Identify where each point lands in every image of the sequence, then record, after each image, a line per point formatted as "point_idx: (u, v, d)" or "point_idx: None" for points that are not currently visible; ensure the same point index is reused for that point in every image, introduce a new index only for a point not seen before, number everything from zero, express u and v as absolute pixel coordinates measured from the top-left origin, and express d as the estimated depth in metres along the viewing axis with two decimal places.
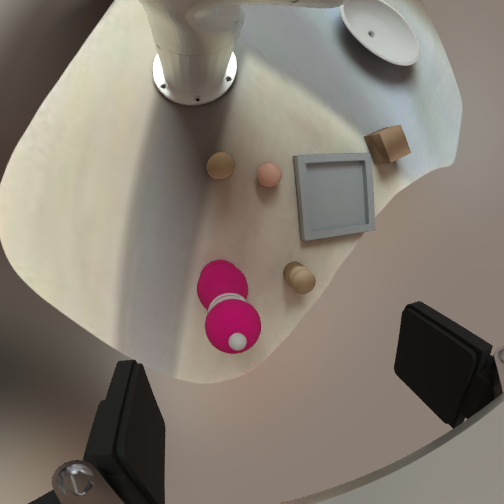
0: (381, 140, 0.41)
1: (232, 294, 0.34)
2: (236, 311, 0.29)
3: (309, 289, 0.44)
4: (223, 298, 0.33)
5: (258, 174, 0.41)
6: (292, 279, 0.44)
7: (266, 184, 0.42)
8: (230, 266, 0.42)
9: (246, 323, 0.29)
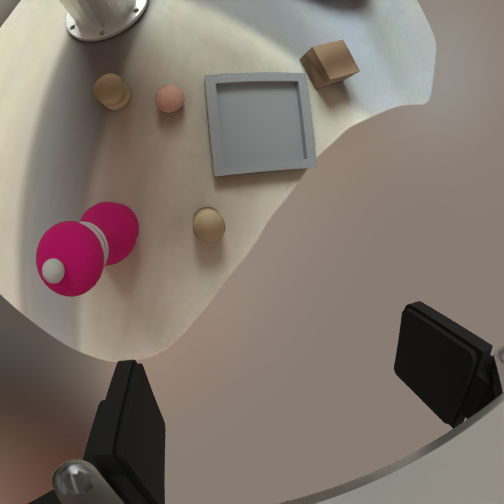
0: (316, 54, 0.31)
1: (84, 223, 0.23)
2: (60, 231, 0.19)
3: (217, 237, 0.34)
4: None
5: (155, 98, 0.31)
6: (193, 222, 0.33)
7: (163, 107, 0.31)
8: (113, 203, 0.31)
9: (68, 247, 0.18)
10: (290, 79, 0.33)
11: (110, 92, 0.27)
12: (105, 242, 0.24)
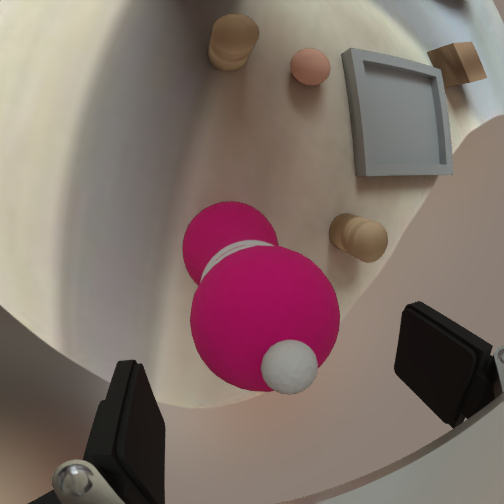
0: (456, 52, 0.21)
1: (259, 243, 0.14)
2: (284, 274, 0.10)
3: (378, 255, 0.25)
4: (239, 250, 0.13)
5: (294, 62, 0.22)
6: (353, 235, 0.24)
7: (308, 76, 0.22)
8: (246, 204, 0.22)
9: (313, 310, 0.10)
10: (429, 73, 0.24)
11: (241, 39, 0.18)
12: None
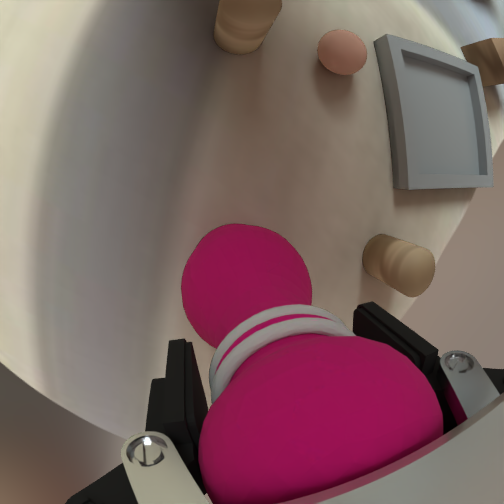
0: (494, 48, 0.16)
1: (306, 310, 0.09)
2: (389, 420, 0.04)
3: (424, 287, 0.19)
4: (276, 330, 0.08)
5: (323, 44, 0.16)
6: (398, 265, 0.18)
7: (341, 62, 0.16)
8: (267, 230, 0.16)
9: None
10: (468, 70, 0.19)
11: (259, 9, 0.13)
12: None
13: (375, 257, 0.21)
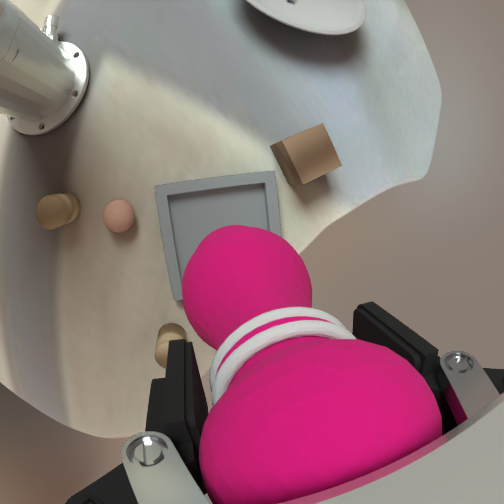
0: (286, 150, 0.29)
1: (306, 313, 0.09)
2: (388, 423, 0.04)
3: None
4: (276, 332, 0.08)
5: None
6: (155, 351, 0.31)
7: (111, 230, 0.29)
8: (267, 231, 0.16)
9: None
10: (255, 181, 0.32)
11: (53, 219, 0.25)
12: None
13: (157, 340, 0.34)
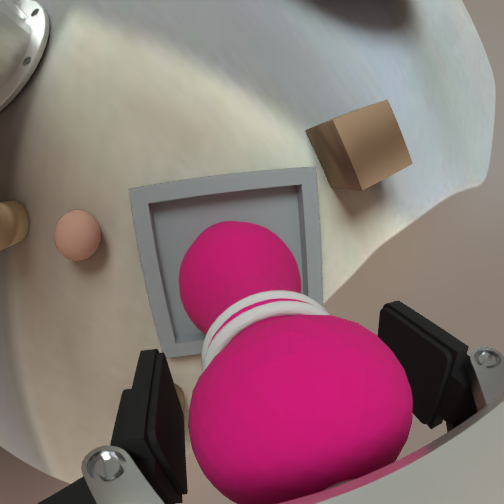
0: (338, 136, 0.17)
1: (288, 295, 0.10)
2: (351, 383, 0.05)
3: None
4: (260, 311, 0.09)
5: None
6: None
7: None
8: (259, 226, 0.17)
9: (390, 430, 0.05)
10: (287, 182, 0.20)
11: None
12: None
13: None
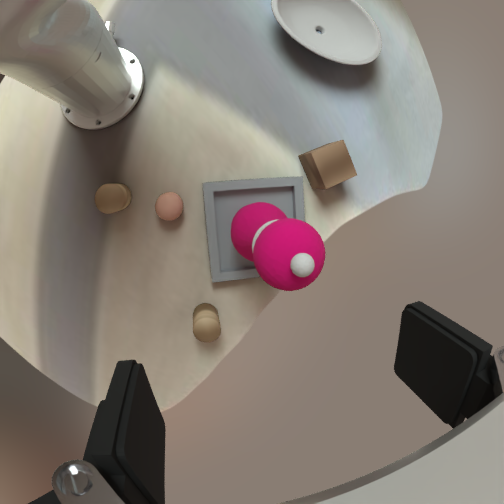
0: (313, 161, 0.35)
1: None
2: (299, 227, 0.23)
3: (214, 338, 0.38)
4: None
5: (155, 206, 0.36)
6: (193, 325, 0.38)
7: (163, 218, 0.36)
8: (272, 204, 0.35)
9: (312, 243, 0.23)
10: (286, 184, 0.38)
11: (111, 204, 0.32)
12: None
13: (193, 317, 0.40)
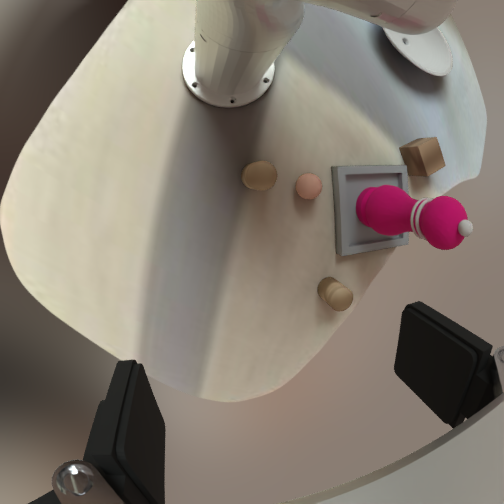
0: (419, 153, 0.38)
1: None
2: (457, 202, 0.26)
3: (347, 306, 0.41)
4: (428, 199, 0.30)
5: (298, 185, 0.39)
6: (330, 296, 0.41)
7: (306, 196, 0.39)
8: None
9: (465, 213, 0.26)
10: (396, 171, 0.41)
11: (266, 181, 0.35)
12: None
13: (322, 290, 0.44)
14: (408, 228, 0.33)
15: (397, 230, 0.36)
